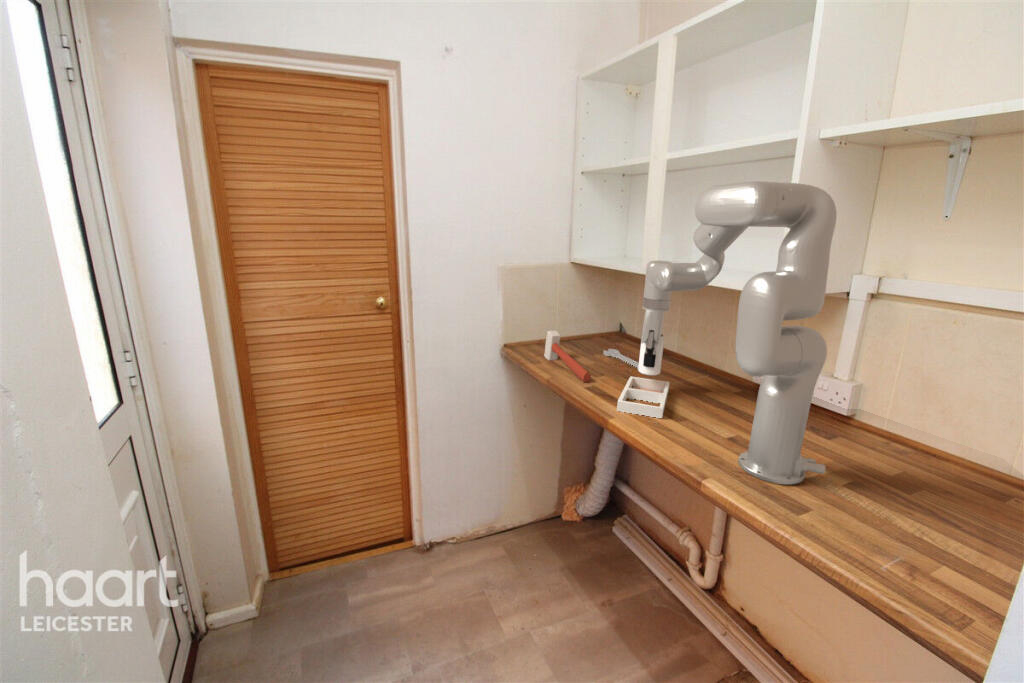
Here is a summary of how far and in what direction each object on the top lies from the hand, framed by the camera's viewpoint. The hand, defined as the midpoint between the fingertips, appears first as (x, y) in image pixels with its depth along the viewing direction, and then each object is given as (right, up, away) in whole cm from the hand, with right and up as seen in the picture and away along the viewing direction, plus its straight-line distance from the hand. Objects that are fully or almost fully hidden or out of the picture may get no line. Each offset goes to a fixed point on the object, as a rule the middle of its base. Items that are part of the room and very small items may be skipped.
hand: (649, 364), depth 139 cm
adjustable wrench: (+1, -1, +35) cm, 35 cm away
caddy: (-2, -11, -2) cm, 11 cm away
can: (0, -3, +2) cm, 4 cm away
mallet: (-22, -3, +25) cm, 34 cm away
